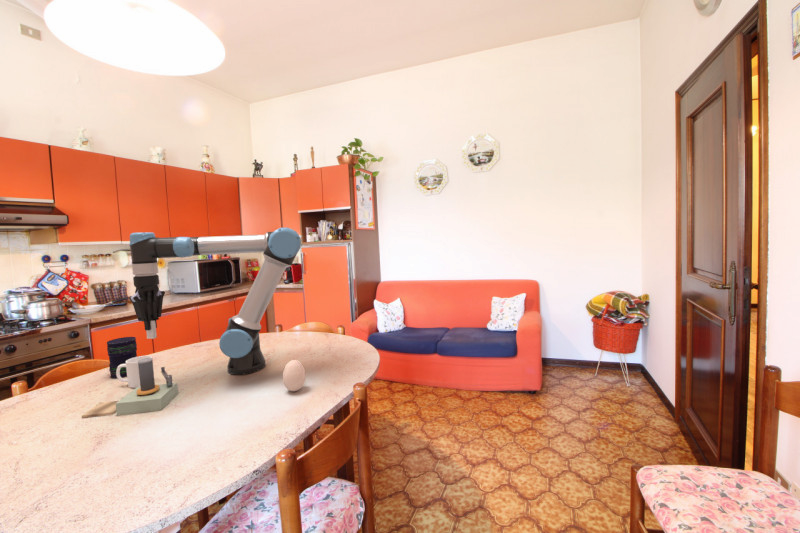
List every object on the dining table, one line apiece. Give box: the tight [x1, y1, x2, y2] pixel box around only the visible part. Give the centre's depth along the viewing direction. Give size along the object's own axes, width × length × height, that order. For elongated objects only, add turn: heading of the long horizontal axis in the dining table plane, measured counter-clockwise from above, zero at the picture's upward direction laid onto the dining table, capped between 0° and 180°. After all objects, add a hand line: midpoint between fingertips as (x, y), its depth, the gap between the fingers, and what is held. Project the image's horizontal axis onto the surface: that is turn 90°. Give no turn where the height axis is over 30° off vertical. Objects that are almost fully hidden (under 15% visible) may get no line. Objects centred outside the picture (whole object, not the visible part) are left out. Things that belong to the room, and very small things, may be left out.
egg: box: [282, 359, 307, 392], centre depth 126 cm, size 8×8×11 cm
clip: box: [160, 366, 174, 387], centre depth 127 cm, size 13×2×4 cm, turn 43°
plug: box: [136, 357, 160, 396], centre depth 119 cm, size 6×6×16 cm
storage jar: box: [106, 336, 138, 380], centre depth 148 cm, size 10×10×15 cm
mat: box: [81, 400, 119, 419], centre depth 116 cm, size 9×9×1 cm
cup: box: [116, 355, 153, 389], centre depth 136 cm, size 8×12×10 cm
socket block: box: [116, 382, 179, 416], centre depth 120 cm, size 13×13×4 cm
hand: (151, 338), depth 128 cm, fingers closed
